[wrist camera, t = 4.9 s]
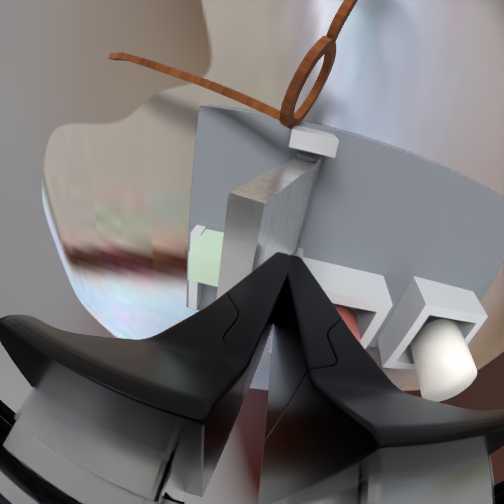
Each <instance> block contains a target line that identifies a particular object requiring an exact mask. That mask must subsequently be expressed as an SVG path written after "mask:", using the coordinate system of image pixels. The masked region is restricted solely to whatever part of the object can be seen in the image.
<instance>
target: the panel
mask: <svg viewBox="0 0 504 504" xmlns="http://www.w3.org/2000/svg"><path fill="white" fill-rule="evenodd" d="M298 151H303V152H309V153H312V154H316V155H318V156H320V157H321V158H322V159H321V163H320V167H319V171H318V175H317V180H316V184H315V188H314V191H313V195H312V199H311V203H310V207H309V211H308V215H307V218H306V222H305V226H304V230H303V233H302V237H301V241H300V244H299V248H298V251H297V252H296V253H294V254H292V255H294V256H299V257H301V258H302V260H303V261H304V263H305V264H306V266H307V267H308V268H309V270H310V271H311V273H312V274H313V276H314V277H315V279H316V280H317V281H318V283H319V284H320V286H321V287H322V289H323V290H324V292H325V293H326V295H327V296H328V297H329V299H330V300H331V302H332V303H334V304H339V305H344V306H346V307H348V308H350V309H351V310H352V311H353V312H354V313H355V314H356V316H357V319H358V325H359V332H360V339H361V345H362V346H363V347H364V349H366V348H367V346H369V347H376V348H379V350H380V356H381V362H382V367H386V368H396V369H406V370H416V368H415V364H414V360H413V356H412V352H411V348H410V344H411V341H412V339H413V338H414V337H415V335H416V334H417V332H418V331H419V330H420V329H421V328H422V327H423V326H425V325H426V324H428V323H430V322H432V321H434V320H437V319H441V318H449V319H453V320H455V321H456V322H457V323H458V325H459V328H460V330H461V332H462V334H463V337H464V339H465V341H466V344H468V343H469V341H470V340H471V339H472V338H473V336H474V335H475V334H476V332H477V331H478V330H479V328H480V327H481V326H482V324H483V323H484V321H485V320H486V319H487V317H488V316H487V314H486V313H485V311H484V309H483V307H482V306H481V304H480V302H481V300H482V299H483V297H484V296H485V294H486V292H487V291H488V289H489V287H490V286H491V284H492V282H493V281H494V279H495V277H496V275H497V274H498V272H499V270H500V268H501V266H502V264H503V262H504V197H503V196H501V195H499V194H498V193H496V192H494V191H492V190H490V189H489V188H487V187H485V186H483V185H481V184H479V183H477V182H475V181H473V180H471V179H469V178H467V177H465V176H463V175H461V174H459V173H457V172H455V171H453V170H451V169H448V168H446V167H444V166H442V165H439V164H437V163H435V162H432V161H430V160H428V159H425V158H423V157H420V156H418V155H415V154H413V153H410V152H407V151H405V150H402V149H399V148H397V147H394V146H391V145H388V144H385V143H382V142H379V141H376V140H373V139H370V138H367V137H364V136H361V135H357V134H354V133H351V132H347V131H343V130H340V129H336V128H332V127H329V126H325V125H321V124H317V123H312V122H308V121H304V120H302V121H301V122H300V123H299V124H298V125H297V126H293V129H289V128H287V127H285V126H283V125H282V124H281V123H280V121H279V120H277V119H275V118H273V117H271V116H269V115H267V114H265V113H262V112H257V111H251V110H244V109H237V108H230V107H221V106H212V105H210V106H200V107H199V115H198V123H197V132H196V141H195V151H194V162H193V173H192V186H191V199H190V215H189V235H188V259H189V251H190V250H191V248H192V247H193V246H194V244H195V243H196V241H197V240H198V239H199V237H200V236H201V234H202V233H203V232H204V230H205V229H210V230H214V231H219V232H223V233H224V227H225V219H226V211H227V203H228V196H229V192H231V191H233V190H234V189H236V188H238V187H240V186H242V185H244V184H245V183H247V182H249V181H251V180H253V179H255V178H257V177H258V176H260V175H262V174H264V173H266V172H268V171H270V170H272V169H274V168H276V167H278V166H280V165H282V164H284V163H286V162H288V161H290V160H292V159H294V158H296V155H297V152H298ZM217 289H218V287H215V286H211V285H207V284H203V283H199V282H196V281H192V280H188V261H187V307H188V308H192V309H195V310H202V309H204V308H205V307H207V306H208V305H210V304H211V303H212V302H214V301H215V300H216V299H217ZM272 328H273V326H272ZM272 338H273V331H272V337H271V342H270V348H269V353H272Z"/></svg>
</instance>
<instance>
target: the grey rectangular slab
mask: <svg viewBox="0 0 504 504" xmlns="http://www.w3.org/2000/svg"><path fill="white" fill-rule="evenodd" d="M321 159H322V158H321V157H320V156H318V155H316V154H312V153H309V152H303V151H298V152H297V155H296V158H294V159H292V160H290V161H288V162H286V163H284V164H282V165H280V166H278V167H276V168H274V169H272V170H270V171H268V172H266V173H264V174H262V175H260V176H258V177H257V178H255V179H253V180H251V181H249V182H247V183H245V184H244V185H242V186H240V187H238V188H236V189H234V190H233V191H231V192H229V196H228V203H227V211H226V219H225V227H224V236H223V244H222V253H221V262H220V271H219V280H218V289H217V299H218V298H219V297H220V296H222V295H223V294H225V293H226V292H227V291H228V290H230V289H231V288H232V287H233V286H235V285H236V284H237V283H238V282H240V281H241V280H242V279H243V278H245V277H246V276H247V275H249V274H250V273H251V272H252V271H254V270H255V269H256V268H257V267H259V266H260V265H261V264H262V263H264V262H265V261H266V260H267V259H269V258H270V257H271V256H272V255H274V254H275V253H276V252H281V253H286V254H288V255H292V254H294V253H296V252H297V251H298V248H299V244H300V241H301V237H302V233H303V230H304V226H305V222H306V218H307V215H308V211H309V207H310V203H311V199H312V195H313V191H314V188H315V184H316V180H317V175H318V171H319V167H320V163H321ZM217 299H216V300H217Z"/></svg>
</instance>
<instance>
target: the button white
mask: <svg viewBox="0 0 504 504" xmlns="http://www.w3.org/2000/svg"><path fill="white" fill-rule="evenodd" d="M410 348H411V352H412V356H413V360H414V364H415V368H416V372H417V376H418V381H419V385H420V390H421V394H422V398H424V399H428V400H431V401H435V402H439V401H442V400H446V399H449V398H451V397H453V396H455V395H457V394H459V393H460V392H462V391H463V390H465V389H466V388H467V387H468V386H469V385H470V384H471V383H472V382H473V381H474V379H475V377H476V375H477V369H476V367H475V364H474V361H473V359H472V356H471V354H470V351H469V349H468V346H467V344H466V341H465V339H464V337H463V334H462V332H461V330H460V328H459V325H458V323H457V322H456V321H455V320H453V319H449V318H441V319H437V320H434V321H432V322H430V323H428V324H426V325H425V326H423V327H422V328H421V329H420V330H419V331H418V332H417V334H416V335H415V337H414V338H413V339H412V341H411V344H410Z"/></svg>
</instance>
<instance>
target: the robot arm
mask: <svg viewBox="0 0 504 504" xmlns="http://www.w3.org/2000/svg"><path fill="white" fill-rule="evenodd" d="M272 326H273V338H272V353H271V367H270V380H269V393H268V405H267V417H266V429H265V440H264V441H265V443H264V451H263V460H262V471H261V479H260V489H259V499H258V504H504V481H502V482H500V483H498V484H496V485H495V486H494V482H493V474H492V466H491V459H490V454H492V453H493V452H495V451H496V450H497V449H499V448H501V447H502V446H503V445H504V410H491V411H477V410H469V409H464V408H459V407H455V406H450V405H447V404H442V403H439V402H435V401H431V400H428V399H424V398H420V397H416V396H413V395H410V394H407V393H405V392H403V391H402V390H400V389H399V388H397V387H396V386H395V385H394V384H393V383H392V382H391V381H390V380H389V378H388V377H387V376H386V375H385V373H384V372H383V371H382V370H381V368H380V367H379V366H378V365H377V364H376V362H375V361H374V360H373V359H372V357H371V356H370V355H369V354H368V353H367V351H366V350H365V349H364V347H363V346H362V345H361V344H360V342H359V341H358V340H357V339H356V337H355V336H354V334H353V333H352V331H351V330H350V329H349V327H348V326H347V324H346V323H345V321H344V320H343V319H342V317H341V315H340V314H339V312H338V311H337V309H336V308H335V306H334V305H333V303H332V302H331V300H330V299H329V297H328V296H327V295H326V293H325V292H324V290H323V289H322V287H321V286H320V284H319V283H318V281H317V280H316V279H315V277H314V276H313V274H312V273H311V271H310V270H309V268H308V267H307V266H306V264H305V263H304V261H303V260H302V258H301V257H299V256H294V255H288V254H286V253H281V252H276V253H275V254H274V255H272V256H271V257H270V258H269V259H267V260H266V261H265V262H264V263H262V264H261V265H260V266H259V267H257V268H256V269H255V270H254V271H252V272H251V273H250V274H249V275H247V276H246V277H245V278H243V279H242V280H241V281H240V282H238V283H237V284H236V285H235V286H233V287H232V288H231V289H230V290H228V291H227V292H226V293H225V294H223V295H222V296H220V297H219V298H218V299H217V300H215V301H214V302H212V303H211V304H210V305H208V306H207V307H205V308H204V309H202V310H200V311H199V312H197V313H195V314H194V315H192V316H190V317H188V318H187V319H185V320H183V321H181V322H180V323H178V324H176V325H174V326H172V327H171V328H169V329H167V330H165V331H163V332H162V333H160V334H157V335H155V336H153V337H150V338H147V339H141V340H133V339H121V338H110V337H101V336H91V335H83V334H77V333H71V332H67V331H62V330H60V329H57V328H54V327H52V326H50V325H47V324H46V323H44V322H42V321H41V320H39V319H37V318H35V317H32V316H27V315H9V316H5V317H2V318H0V342H1V343H2V345H3V346H4V348H5V350H6V351H7V352H8V354H9V356H10V357H11V359H12V360H13V362H14V363H15V364H16V366H17V367H18V369H19V370H20V371H21V373H22V374H23V375H24V377H25V378H26V379H27V381H28V382H29V383H30V385H31V386H32V387H33V388H32V389H31V391H30V393H29V394H28V396H27V397H26V399H25V400H24V402H23V403H22V405H21V406H20V408H19V410H18V411H17V413H15V412H13V411H12V410H11V409H10V408H9V407H8V406H7V405H5V404H4V403H3V402H2V401H1V400H0V504H185V502H183V500H184V496H185V493H190V494H193V495H197V496H200V497H202V496H203V494H204V492H205V490H206V488H207V485H208V483H209V481H210V479H211V476H212V474H213V472H214V470H215V468H216V466H217V463H218V461H219V459H220V457H221V454H222V452H223V450H224V447H225V445H226V443H227V440H228V438H229V435H230V433H231V431H232V428H233V426H234V424H235V421H236V419H237V416H238V414H239V412H240V409H241V406H242V404H243V401H244V399H245V397H246V394H247V392H248V389H249V387H250V384H251V382H252V379H253V376H254V374H255V371H256V369H257V366H258V363H259V361H260V358H261V356H262V353H263V350H264V347H265V345H266V342H267V339H268V337H269V334H270V331H271V328H272Z"/></svg>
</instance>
